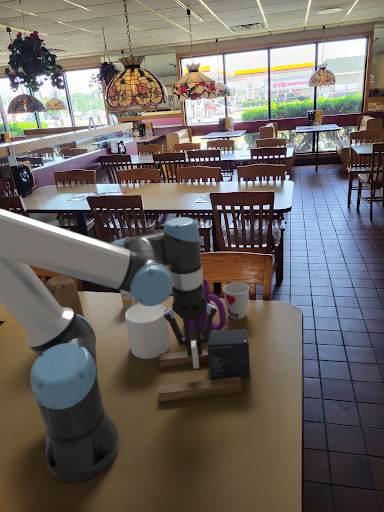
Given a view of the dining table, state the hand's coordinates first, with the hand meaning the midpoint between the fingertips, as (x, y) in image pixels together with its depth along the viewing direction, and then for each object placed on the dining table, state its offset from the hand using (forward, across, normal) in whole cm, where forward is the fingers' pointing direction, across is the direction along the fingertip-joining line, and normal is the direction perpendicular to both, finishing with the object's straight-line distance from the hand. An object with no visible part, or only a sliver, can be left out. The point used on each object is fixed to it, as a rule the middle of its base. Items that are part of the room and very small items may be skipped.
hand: (196, 364), depth 98 cm
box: (+4, -9, -1) cm, 9 cm away
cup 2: (+4, -15, -27) cm, 31 cm away
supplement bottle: (+4, +21, -40) cm, 45 cm away
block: (+4, +39, -26) cm, 47 cm away
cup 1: (+4, +13, -15) cm, 20 cm away
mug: (+4, -4, -21) cm, 22 cm away
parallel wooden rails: (+4, 0, 0) cm, 4 cm away
